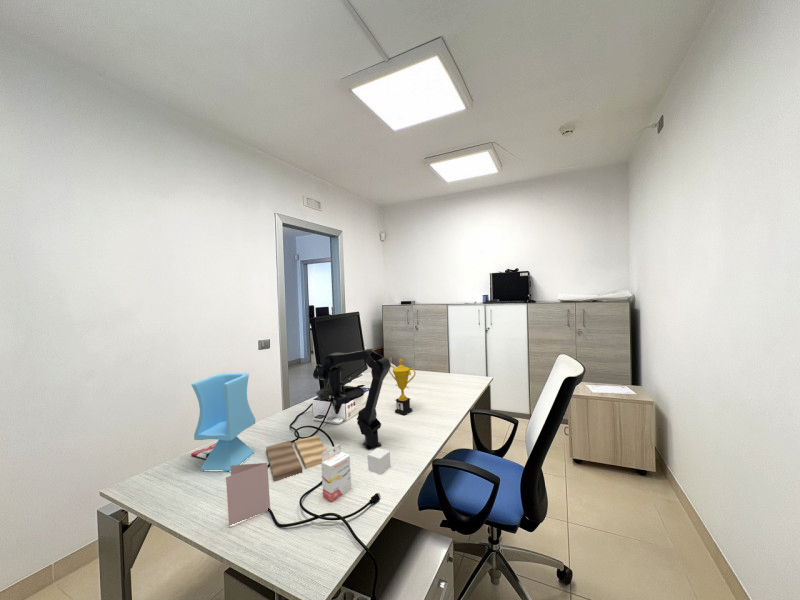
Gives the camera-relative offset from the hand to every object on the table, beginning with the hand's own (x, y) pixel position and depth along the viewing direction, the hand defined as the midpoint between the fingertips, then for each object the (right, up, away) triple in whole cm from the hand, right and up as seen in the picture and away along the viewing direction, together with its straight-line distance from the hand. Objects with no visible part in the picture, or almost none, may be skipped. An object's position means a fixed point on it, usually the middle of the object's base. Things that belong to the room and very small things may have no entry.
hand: (336, 414), depth 142 cm
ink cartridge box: (+8, -12, -39) cm, 42 cm away
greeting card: (-17, -14, -49) cm, 53 cm away
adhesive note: (+21, -11, -26) cm, 35 cm away
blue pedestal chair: (-42, -14, -15) cm, 47 cm away
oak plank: (-8, -12, -11) cm, 19 cm away
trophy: (+31, -10, +28) cm, 43 cm away
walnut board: (-18, -13, -17) cm, 28 cm away
